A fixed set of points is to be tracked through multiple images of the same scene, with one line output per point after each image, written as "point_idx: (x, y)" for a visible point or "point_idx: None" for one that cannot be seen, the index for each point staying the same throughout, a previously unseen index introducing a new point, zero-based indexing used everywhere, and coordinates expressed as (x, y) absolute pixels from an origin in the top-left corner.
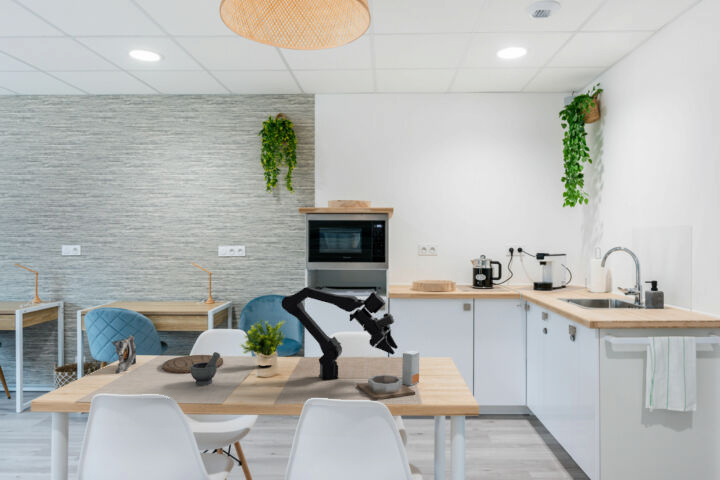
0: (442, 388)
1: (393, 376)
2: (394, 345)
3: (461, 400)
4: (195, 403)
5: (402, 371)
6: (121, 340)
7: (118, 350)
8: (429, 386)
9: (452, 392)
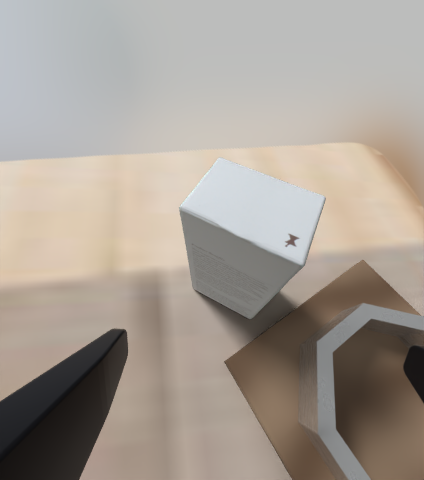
0: None
1: (331, 359)
2: (105, 378)
3: (343, 155)
4: None
5: (263, 306)
6: None
7: None
8: None
9: (288, 168)
